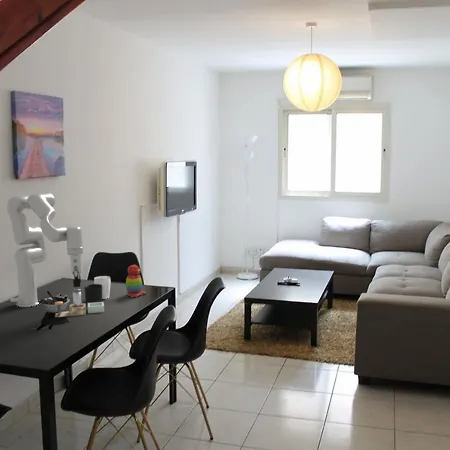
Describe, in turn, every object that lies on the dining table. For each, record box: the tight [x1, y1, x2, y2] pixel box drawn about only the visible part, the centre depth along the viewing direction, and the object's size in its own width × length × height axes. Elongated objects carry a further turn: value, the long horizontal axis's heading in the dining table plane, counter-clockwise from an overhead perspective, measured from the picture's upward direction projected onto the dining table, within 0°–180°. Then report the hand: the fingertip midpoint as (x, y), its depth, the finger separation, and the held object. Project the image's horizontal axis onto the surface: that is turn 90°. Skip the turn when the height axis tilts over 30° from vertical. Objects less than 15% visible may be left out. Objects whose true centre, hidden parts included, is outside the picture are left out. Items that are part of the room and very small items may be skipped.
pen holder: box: [83, 283, 103, 305], centre depth 303 cm, size 9×9×10 cm
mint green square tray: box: [87, 301, 105, 314], centre depth 287 cm, size 8×8×4 cm
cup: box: [93, 275, 112, 300], centre depth 315 cm, size 9×9×12 cm
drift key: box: [54, 300, 64, 312], centre depth 280 cm, size 4×4×4 cm
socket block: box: [54, 302, 87, 318], centre depth 282 cm, size 15×9×6 cm, turn 103°
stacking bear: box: [125, 264, 147, 297], centre depth 321 cm, size 11×10×18 cm
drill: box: [72, 288, 83, 307], centre depth 282 cm, size 4×4×12 cm
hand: (77, 285), depth 281 cm, fingers open, 9 cm apart
